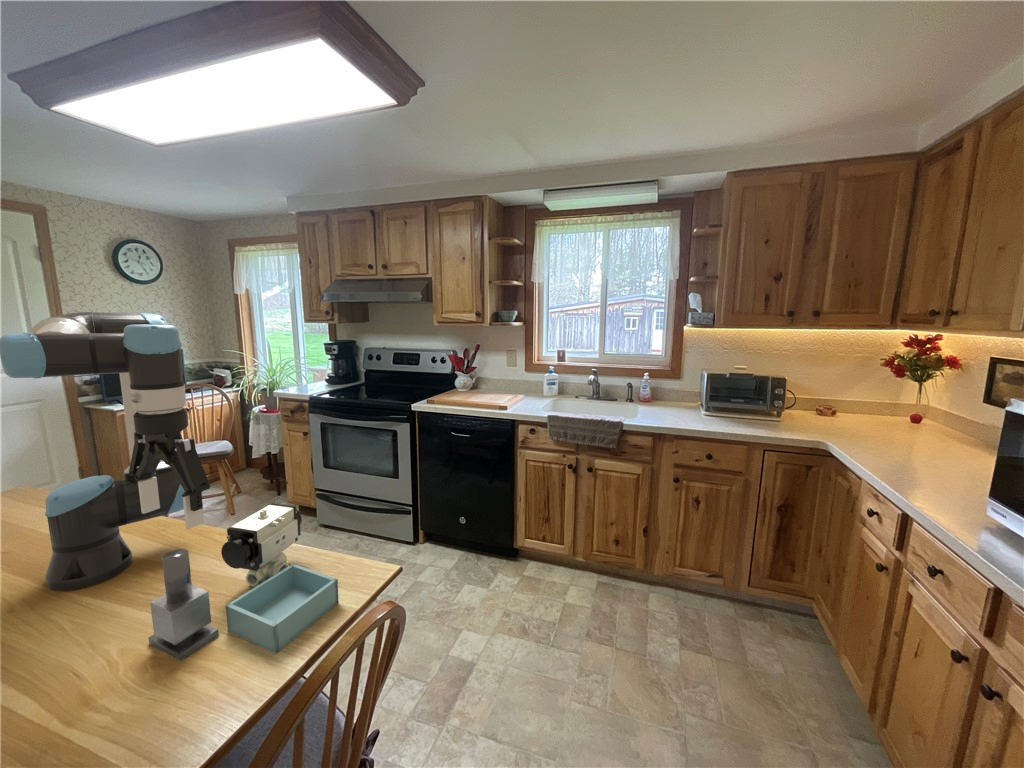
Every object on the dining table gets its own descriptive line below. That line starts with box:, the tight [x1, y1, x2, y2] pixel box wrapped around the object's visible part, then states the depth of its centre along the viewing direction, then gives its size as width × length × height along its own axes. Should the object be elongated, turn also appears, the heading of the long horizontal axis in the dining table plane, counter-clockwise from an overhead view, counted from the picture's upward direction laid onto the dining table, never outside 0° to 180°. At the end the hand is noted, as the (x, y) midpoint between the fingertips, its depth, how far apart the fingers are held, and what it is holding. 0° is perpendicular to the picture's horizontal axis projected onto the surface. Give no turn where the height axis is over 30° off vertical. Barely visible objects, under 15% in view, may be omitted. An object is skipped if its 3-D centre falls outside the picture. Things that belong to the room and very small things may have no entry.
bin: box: [225, 563, 340, 655], centre depth 90 cm, size 14×16×6 cm
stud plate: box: [148, 624, 220, 662], centre depth 82 cm, size 10×7×9 cm
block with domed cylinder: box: [149, 548, 212, 645], centre depth 81 cm, size 7×7×16 cm
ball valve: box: [220, 502, 303, 587], centre depth 102 cm, size 18×8×18 cm, turn 168°
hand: (172, 518), depth 79 cm, fingers open, 13 cm apart
